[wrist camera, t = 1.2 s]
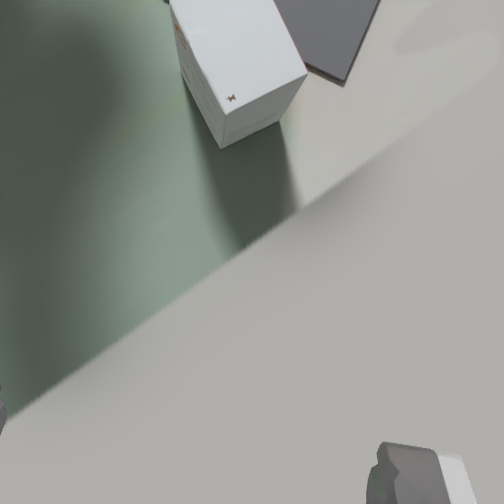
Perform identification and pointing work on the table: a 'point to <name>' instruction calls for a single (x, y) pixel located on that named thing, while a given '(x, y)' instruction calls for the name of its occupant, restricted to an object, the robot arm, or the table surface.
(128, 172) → the table surface
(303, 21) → the mat
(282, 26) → the small box
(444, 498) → the robot arm
